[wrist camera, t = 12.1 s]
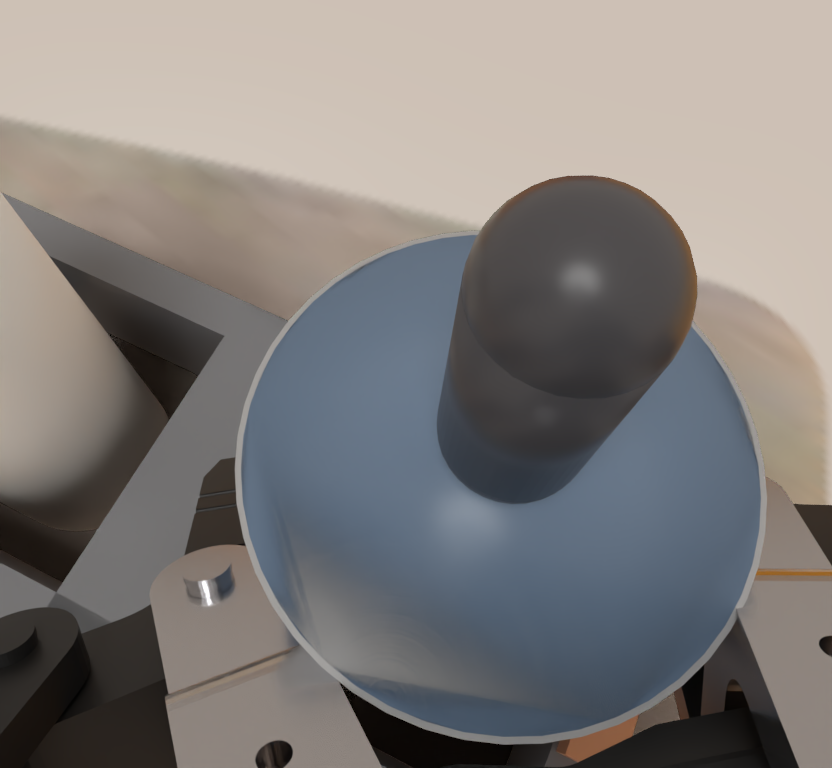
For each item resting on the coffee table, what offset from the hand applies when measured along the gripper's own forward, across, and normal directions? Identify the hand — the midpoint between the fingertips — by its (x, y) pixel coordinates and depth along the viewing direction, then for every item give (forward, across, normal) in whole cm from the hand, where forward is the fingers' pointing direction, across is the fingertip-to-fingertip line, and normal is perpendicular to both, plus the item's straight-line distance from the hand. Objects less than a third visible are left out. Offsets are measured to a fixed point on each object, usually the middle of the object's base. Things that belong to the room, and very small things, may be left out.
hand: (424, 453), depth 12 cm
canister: (+2, 0, +5) cm, 5 cm away
